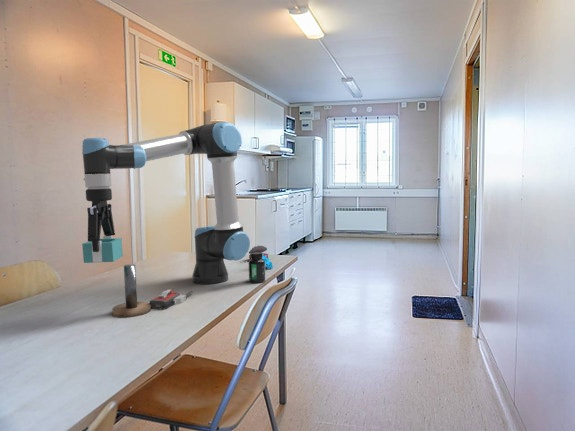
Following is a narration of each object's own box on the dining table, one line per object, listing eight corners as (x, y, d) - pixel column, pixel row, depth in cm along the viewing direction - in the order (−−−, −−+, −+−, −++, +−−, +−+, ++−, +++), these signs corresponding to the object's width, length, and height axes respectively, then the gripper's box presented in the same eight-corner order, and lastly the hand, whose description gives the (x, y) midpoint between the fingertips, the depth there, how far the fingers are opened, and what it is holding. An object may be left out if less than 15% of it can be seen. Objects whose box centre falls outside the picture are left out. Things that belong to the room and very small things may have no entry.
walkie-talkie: (170, 311, 148) (195, 295, 167) (169, 298, 147) (194, 283, 167) (146, 310, 149) (173, 294, 169) (145, 297, 149) (173, 282, 168)
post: (138, 305, 149) (136, 264, 148) (135, 308, 145) (133, 266, 144) (127, 305, 149) (125, 264, 147) (124, 308, 145) (122, 266, 144)
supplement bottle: (255, 284, 180) (254, 255, 179) (245, 281, 185) (245, 253, 184) (268, 281, 185) (268, 253, 184) (258, 278, 190) (258, 251, 189)
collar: (122, 256, 146) (121, 238, 146) (113, 261, 137) (111, 242, 137) (95, 257, 146) (93, 239, 145) (83, 262, 137) (82, 243, 136)
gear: (268, 267, 203) (255, 251, 206) (259, 276, 205) (246, 260, 208) (278, 266, 213) (265, 250, 216) (269, 274, 215) (257, 258, 218)
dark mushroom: (250, 270, 227) (241, 253, 226) (257, 264, 236) (248, 248, 236) (268, 261, 223) (259, 244, 222) (275, 255, 232) (265, 239, 232)
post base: (154, 305, 154) (154, 301, 153) (145, 316, 142) (145, 312, 141) (119, 306, 153) (119, 302, 153) (107, 317, 141) (106, 313, 141)
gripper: (99, 186, 150) (104, 252, 152) (71, 190, 128) (77, 266, 131) (121, 186, 150) (126, 251, 152) (97, 189, 128) (103, 265, 131)
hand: (103, 258), depth 141 cm, fingers closed on collar, 9 cm apart
